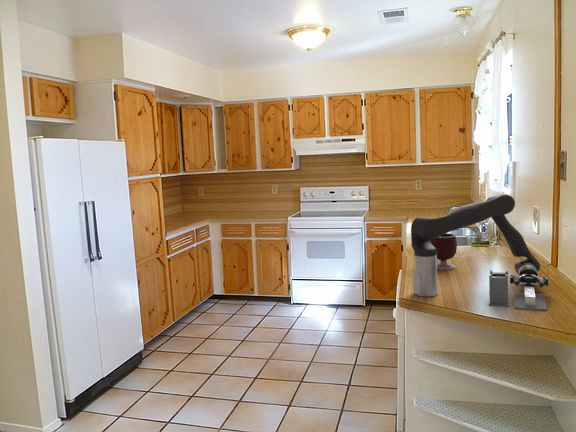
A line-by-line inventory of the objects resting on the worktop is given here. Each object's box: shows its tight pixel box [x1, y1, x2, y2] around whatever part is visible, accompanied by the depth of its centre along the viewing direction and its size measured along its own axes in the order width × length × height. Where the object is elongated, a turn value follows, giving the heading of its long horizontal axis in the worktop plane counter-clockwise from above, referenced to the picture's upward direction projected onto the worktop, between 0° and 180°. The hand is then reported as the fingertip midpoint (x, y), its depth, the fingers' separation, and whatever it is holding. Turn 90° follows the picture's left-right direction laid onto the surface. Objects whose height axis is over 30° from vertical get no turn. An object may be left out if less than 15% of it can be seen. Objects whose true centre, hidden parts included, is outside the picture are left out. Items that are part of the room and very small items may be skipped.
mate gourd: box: [430, 232, 458, 271], centre depth 260 cm, size 16×14×20 cm
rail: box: [523, 285, 536, 306], centre depth 196 cm, size 18×4×4 cm, turn 156°
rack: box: [488, 269, 510, 308], centre depth 196 cm, size 11×7×12 cm, turn 156°
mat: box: [513, 292, 548, 311], centre depth 195 cm, size 21×11×1 cm, turn 156°
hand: (529, 284), depth 198 cm, fingers open, 8 cm apart
